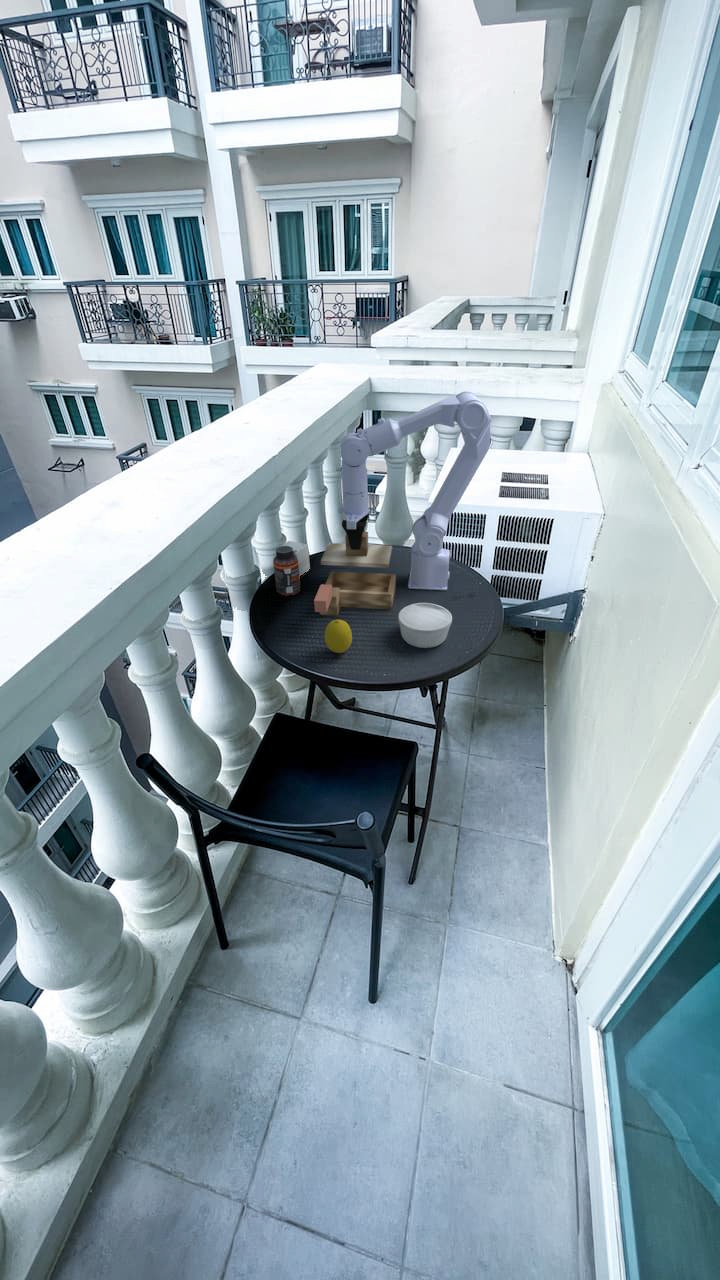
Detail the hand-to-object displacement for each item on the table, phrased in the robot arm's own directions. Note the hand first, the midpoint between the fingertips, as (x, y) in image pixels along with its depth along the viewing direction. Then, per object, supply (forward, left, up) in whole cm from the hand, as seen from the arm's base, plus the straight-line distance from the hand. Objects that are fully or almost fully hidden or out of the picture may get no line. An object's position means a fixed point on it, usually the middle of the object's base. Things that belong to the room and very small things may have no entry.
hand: (356, 545), depth 130 cm
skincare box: (+17, -5, -11) cm, 21 cm away
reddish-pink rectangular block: (+4, +19, -5) cm, 20 cm away
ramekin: (-18, +21, -11) cm, 30 cm away
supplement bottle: (+16, +5, -11) cm, 20 cm away
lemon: (-1, +29, -11) cm, 31 cm away
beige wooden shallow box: (-2, +8, -10) cm, 13 cm away
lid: (0, 0, -3) cm, 3 cm away
